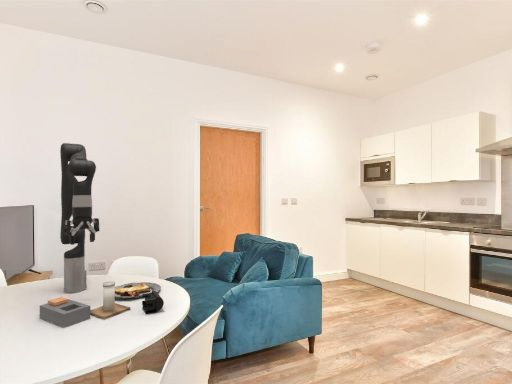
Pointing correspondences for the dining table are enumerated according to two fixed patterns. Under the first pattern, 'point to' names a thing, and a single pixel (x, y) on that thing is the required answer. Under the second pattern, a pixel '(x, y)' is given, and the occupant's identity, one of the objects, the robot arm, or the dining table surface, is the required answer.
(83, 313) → the grey hollow block
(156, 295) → the end cap
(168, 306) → the dining table surface
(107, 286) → the cylinder
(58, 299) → the orange cube
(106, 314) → the walnut board
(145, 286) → the food plate
